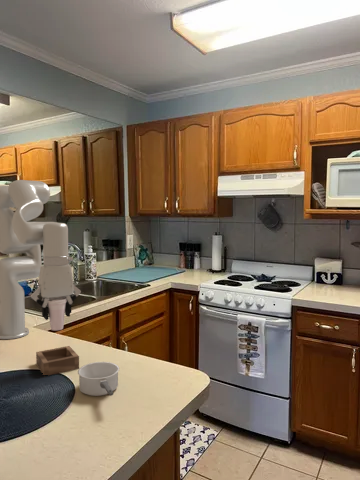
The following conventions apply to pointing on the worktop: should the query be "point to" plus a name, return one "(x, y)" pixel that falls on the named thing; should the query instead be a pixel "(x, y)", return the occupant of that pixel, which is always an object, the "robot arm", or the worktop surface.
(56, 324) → the smoothie
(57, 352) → the wooden frame
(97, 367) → the saucepan
